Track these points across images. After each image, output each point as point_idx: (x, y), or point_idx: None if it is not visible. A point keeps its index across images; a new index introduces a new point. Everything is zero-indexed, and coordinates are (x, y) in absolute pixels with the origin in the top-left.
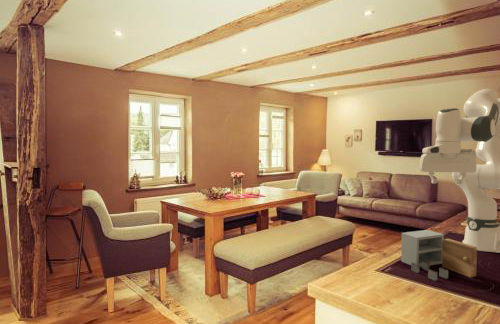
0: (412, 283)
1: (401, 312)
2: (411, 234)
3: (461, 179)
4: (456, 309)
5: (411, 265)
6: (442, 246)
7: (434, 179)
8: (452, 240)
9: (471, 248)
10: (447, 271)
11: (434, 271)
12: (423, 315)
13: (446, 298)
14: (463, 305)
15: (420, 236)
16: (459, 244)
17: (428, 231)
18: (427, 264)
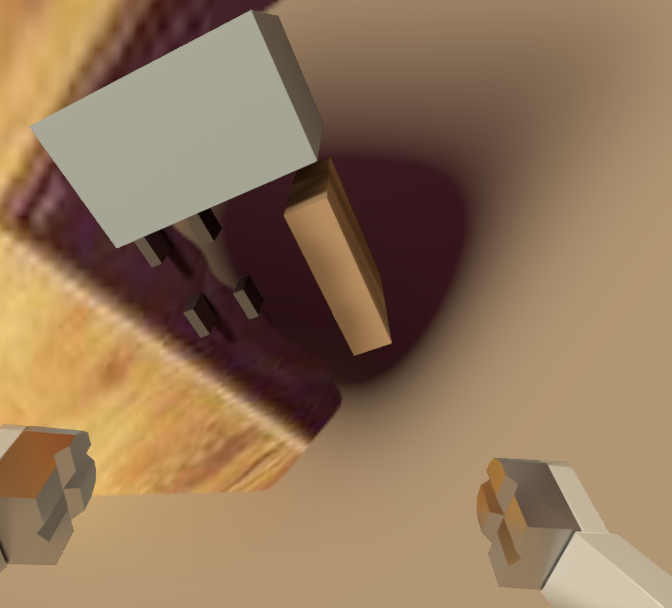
0: (128, 334)
1: None
2: (95, 170)
3: (553, 593)
4: (205, 461)
5: None
6: (288, 201)
7: (7, 555)
8: (331, 238)
9: (358, 351)
10: (255, 315)
11: (201, 327)
12: (122, 483)
13: (202, 418)
14: (230, 446)
15: (145, 220)
16: (330, 307)
17: (238, 76)
18: (203, 240)
